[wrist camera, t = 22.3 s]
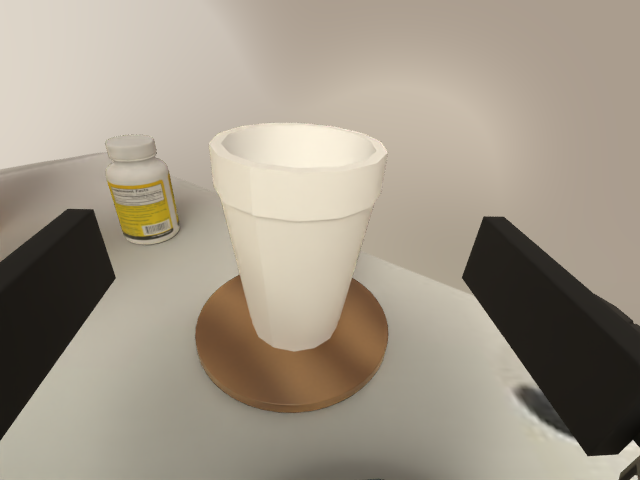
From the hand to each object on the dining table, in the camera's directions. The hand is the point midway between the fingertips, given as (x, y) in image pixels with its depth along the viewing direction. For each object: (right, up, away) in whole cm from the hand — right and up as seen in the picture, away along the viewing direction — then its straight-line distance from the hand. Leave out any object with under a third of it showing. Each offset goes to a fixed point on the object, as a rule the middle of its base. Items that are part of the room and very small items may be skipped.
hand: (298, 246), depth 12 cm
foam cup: (-1, -6, +13) cm, 14 cm away
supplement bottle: (-17, +1, +24) cm, 29 cm away
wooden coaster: (-1, -6, +14) cm, 15 cm away
